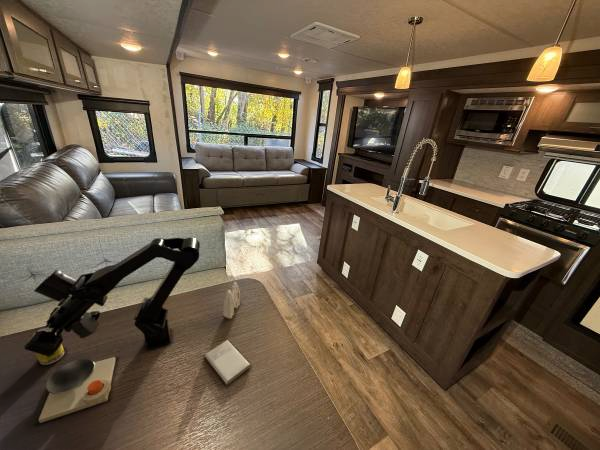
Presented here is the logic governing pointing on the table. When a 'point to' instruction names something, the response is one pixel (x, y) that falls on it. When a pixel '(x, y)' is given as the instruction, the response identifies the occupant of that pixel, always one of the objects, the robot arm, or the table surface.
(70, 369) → the scale pan
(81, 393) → the scale
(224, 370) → the hard drive
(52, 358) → the supplement bottle
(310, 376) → the table surface
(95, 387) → the tare button
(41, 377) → the table surface
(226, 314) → the shaker set
